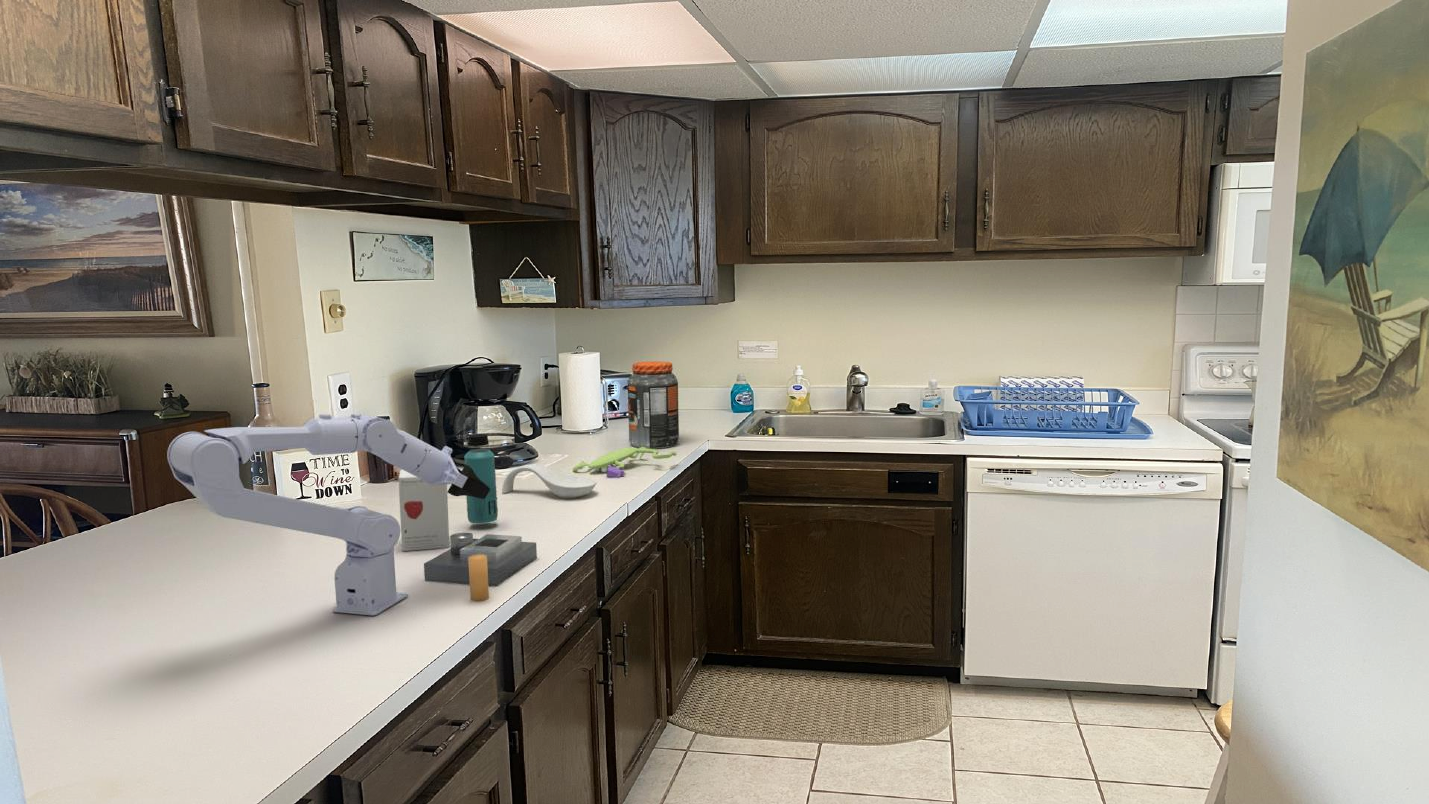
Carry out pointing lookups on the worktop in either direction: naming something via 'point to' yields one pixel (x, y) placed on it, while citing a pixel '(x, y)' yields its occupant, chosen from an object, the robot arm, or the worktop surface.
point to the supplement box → (423, 513)
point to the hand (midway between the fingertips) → (475, 487)
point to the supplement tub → (653, 405)
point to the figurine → (619, 460)
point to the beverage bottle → (485, 472)
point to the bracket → (492, 547)
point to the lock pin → (478, 577)
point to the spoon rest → (554, 481)
